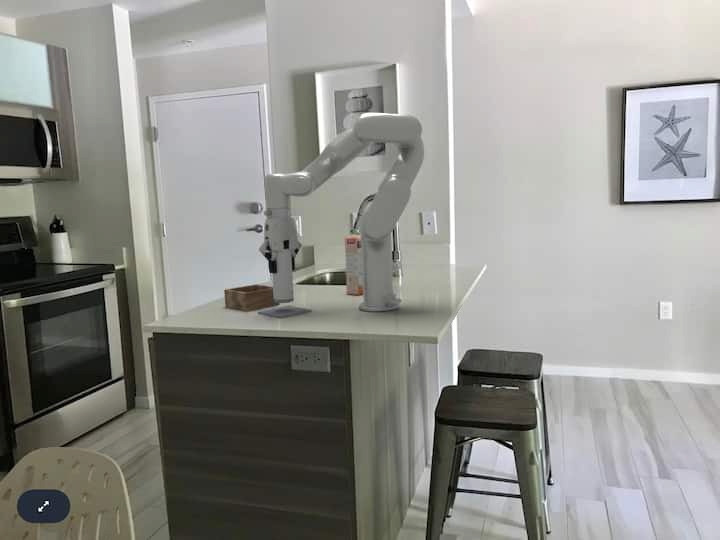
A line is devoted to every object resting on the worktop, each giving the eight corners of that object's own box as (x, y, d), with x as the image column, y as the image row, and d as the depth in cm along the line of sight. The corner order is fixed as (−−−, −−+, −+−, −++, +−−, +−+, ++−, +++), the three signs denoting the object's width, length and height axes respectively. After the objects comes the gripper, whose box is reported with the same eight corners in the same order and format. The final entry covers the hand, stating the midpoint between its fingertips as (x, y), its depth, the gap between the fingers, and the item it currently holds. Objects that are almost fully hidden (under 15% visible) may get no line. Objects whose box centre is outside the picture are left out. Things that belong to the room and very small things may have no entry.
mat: (311, 311, 182) (311, 309, 182) (280, 318, 174) (280, 316, 174) (288, 307, 191) (288, 305, 191) (258, 313, 183) (258, 311, 183)
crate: (279, 305, 195) (278, 287, 194) (247, 311, 186) (245, 293, 186) (257, 301, 205) (256, 284, 204) (225, 307, 196) (224, 289, 195)
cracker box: (359, 295, 206) (357, 237, 203) (346, 294, 210) (343, 237, 207) (380, 289, 218) (378, 234, 215) (367, 288, 221) (364, 234, 218)
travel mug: (298, 300, 182) (295, 237, 180) (282, 303, 178) (278, 239, 175) (285, 298, 187) (282, 236, 184) (269, 301, 182) (266, 238, 179)
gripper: (262, 215, 170) (266, 276, 172) (308, 212, 182) (311, 269, 184) (248, 215, 175) (252, 274, 178) (293, 212, 187) (296, 267, 189)
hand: (282, 271), depth 181 cm, fingers closed on travel mug, 6 cm apart
